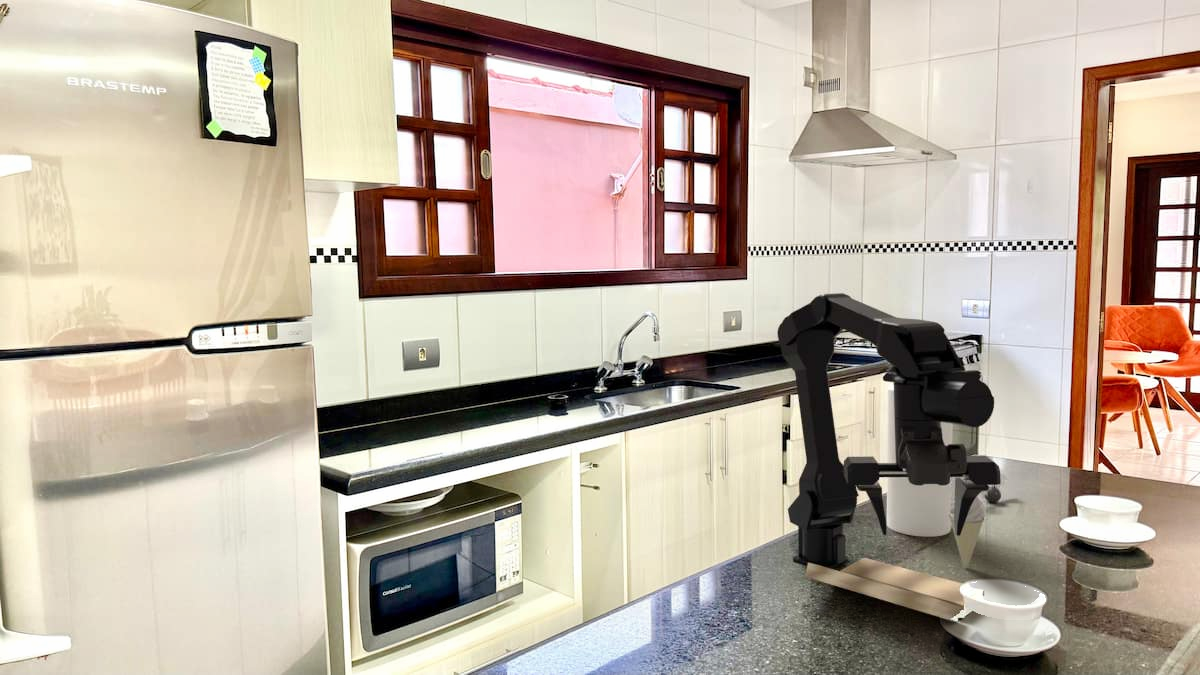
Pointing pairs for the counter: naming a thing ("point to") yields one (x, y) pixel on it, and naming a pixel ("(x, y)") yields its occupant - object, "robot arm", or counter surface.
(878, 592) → the oak plank
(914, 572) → the floor strip
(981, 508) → the ice cream cone
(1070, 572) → the counter surface
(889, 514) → the tall pillar cylinder
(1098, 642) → the counter surface
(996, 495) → the bat toy
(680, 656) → the counter surface
